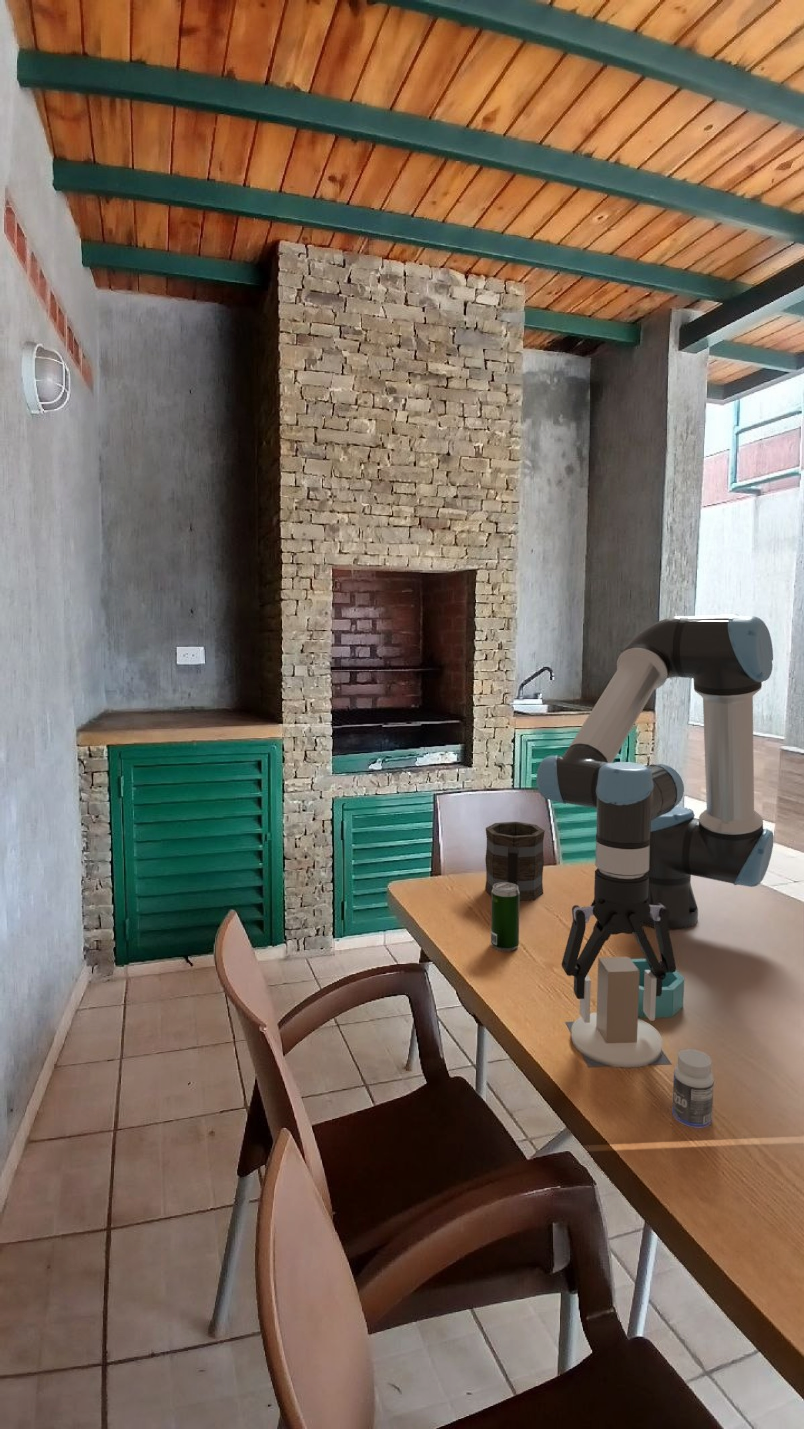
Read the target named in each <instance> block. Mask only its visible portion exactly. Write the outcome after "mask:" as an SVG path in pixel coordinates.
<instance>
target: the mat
mask: <svg viewBox="0 0 804 1429" xmlns="http://www.w3.org/2000/svg"><path fill="white" fill-rule="evenodd" d="M574 1022H575V1021H565V1025H566V1026H567V1028H568V1031H569V1032H570V1033H571V1030H572V1025H573V1023H574ZM580 1054H581V1056H582V1057H583V1059H584V1062H585V1063H586V1066H587V1068H604V1067H607V1068H608V1067H613V1066H610V1065H606V1064H602V1063H599V1062H597V1061H594V1060H592V1059H590V1058H588V1057H587V1056H585V1055H583V1054H582V1053H581V1052H580ZM672 1064H673V1063H672V1062H671V1061H670V1059H669V1058H668V1056H667V1055H666V1054H665V1052H664V1050H662V1053H661V1055H660V1057H659V1058H658V1059H657V1060H656V1061H654V1062H653V1063H651V1064H648V1065H647V1066H660V1065H661V1066H662V1065H663V1066H665V1065H672Z"/></svg>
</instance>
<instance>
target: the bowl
mask: <svg viewBox="0 0 804 1429" xmlns="http://www.w3.org/2000/svg"><path fill="white" fill-rule="evenodd" d="M630 959H631V961H632V962H633V963H634V964H635V966H636V967H637V968H638V969H639V971H640V976H639V1002H638V1017H640V1018H644V1019H648V1017H647V1016H646V1014H645V1013H644V1012H643V999H644V973H645V970H650V971H651V968H650V967H649V964H648V962H647V960H646V958H630ZM665 974H666V978H665V979H663V980H662V994H661V996H656V1005H655V1018H672V1017H674V1015H676V1014H677V1013H678V1012H679V1011H680V1010H681V1009H682V1008H683V1007H684V999H685V998H684V996H685V995H684V994H685V993H684V992H685V978H684V977H683V976H682V975H681V974H680V973H679V971H677V970H676V971H675V972H673V973H671V972H668V973H665Z"/></svg>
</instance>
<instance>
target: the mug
mask: <svg viewBox="0 0 804 1429" xmlns="http://www.w3.org/2000/svg"><path fill="white" fill-rule="evenodd" d="M545 832H546V831H545V829H543V828H542V827H540V826H539V825H537V824H534V823H527V822H522V821H521V822H520V821H508V822H507V821H506V822H505V821H504V822H503V821H502V822H495V823H493V824H490V825H489V826H487V827H485V834H486V851H485V852H486V853H485V859H484V860H485V869H486V870H485V871H486V873H485V874H486V875H485V877H486V880H485V887H484V891H485V892H486V894H488V895H489V896H490V897H491V894H492V889H493V885H494V884H496V883H501V882H507V883H513V884H516V885H517V886H518V890H519V892H520V898H519V903H523V902H534V901H536V900H537V899H539V898H540V897H541V896H543V895H544V886H543V874H544V864H545V861H544V860H545V857H544V837H545Z"/></svg>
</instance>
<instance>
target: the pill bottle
mask: <svg viewBox="0 0 804 1429" xmlns="http://www.w3.org/2000/svg"><path fill="white" fill-rule="evenodd" d="M677 1054H678V1055H677V1060H676V1061H677V1065H675V1068H674V1071H673V1084H672V1085H673V1089H672V1105H671V1106H672V1107H671V1110H672V1116H673V1117H674V1119H675V1120H677V1121H678V1122H679V1123H680V1124H683V1125H686V1126H688V1127H691V1128H696V1129H697V1128H699V1129H700V1128H706V1127H708V1126H709V1125H710V1124H711V1123H712V1119H713V1104H714V1102H713V1101H714V1100H713V1099H714V1087H715V1086H714V1085H715V1079H714V1078H715V1077H714V1074H713V1073H712V1064H713V1062H712V1059H711V1057H710V1056H709V1055H708V1054H706V1053H705V1052H703V1051H701V1050H698V1049H692V1048H684V1049H682V1050H680V1051H679V1052H678V1053H677Z"/></svg>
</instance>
